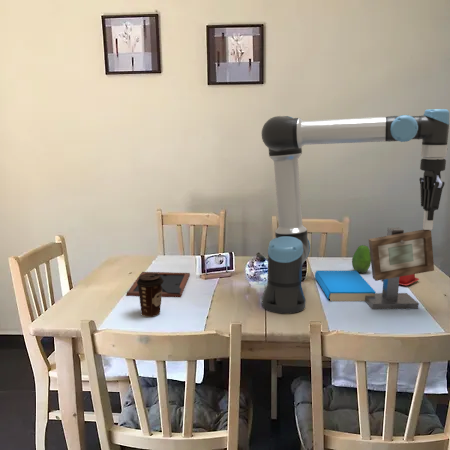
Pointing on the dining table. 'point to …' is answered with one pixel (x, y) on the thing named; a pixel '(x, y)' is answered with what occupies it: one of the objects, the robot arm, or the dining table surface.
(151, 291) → the coffee cup
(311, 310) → the dining table surface
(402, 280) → the butter dish
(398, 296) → the frame stand
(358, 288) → the book
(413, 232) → the picture frame
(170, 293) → the picture frame
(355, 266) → the avocado
